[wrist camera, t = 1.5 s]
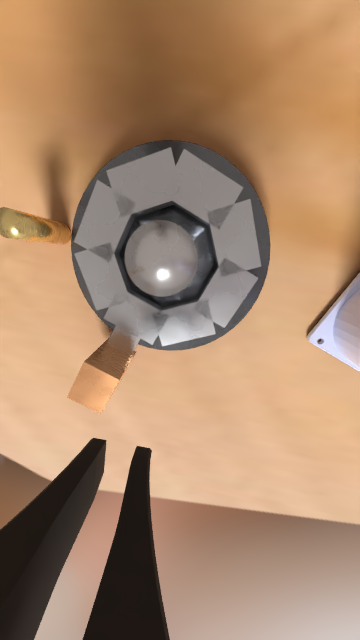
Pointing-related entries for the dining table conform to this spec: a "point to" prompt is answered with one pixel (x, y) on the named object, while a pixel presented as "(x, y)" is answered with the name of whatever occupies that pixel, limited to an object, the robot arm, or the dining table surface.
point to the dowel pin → (32, 227)
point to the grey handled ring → (111, 280)
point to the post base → (175, 245)
